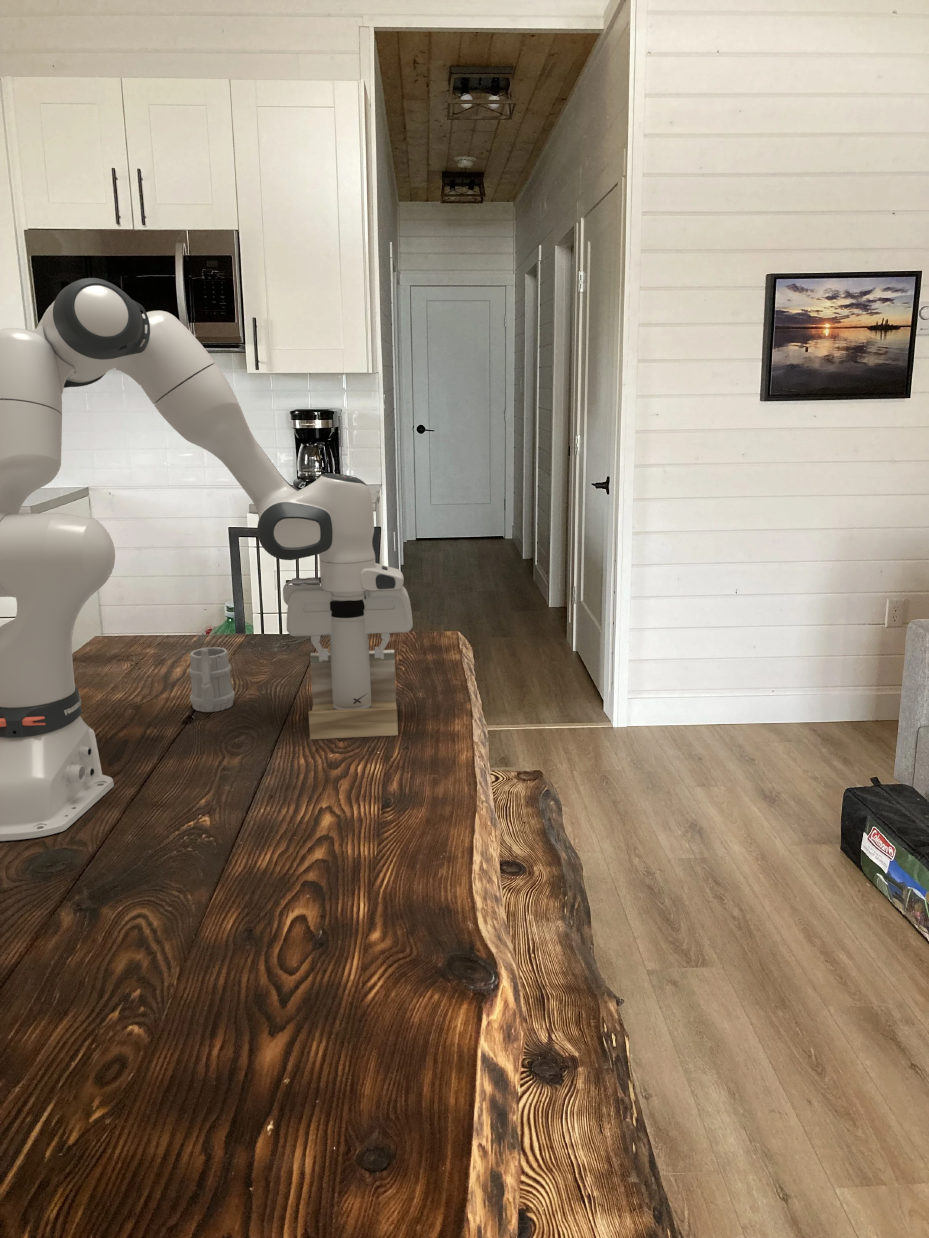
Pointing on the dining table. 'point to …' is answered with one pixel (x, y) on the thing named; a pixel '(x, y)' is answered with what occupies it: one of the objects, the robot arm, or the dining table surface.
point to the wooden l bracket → (354, 720)
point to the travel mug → (349, 656)
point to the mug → (210, 680)
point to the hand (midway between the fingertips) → (351, 659)
